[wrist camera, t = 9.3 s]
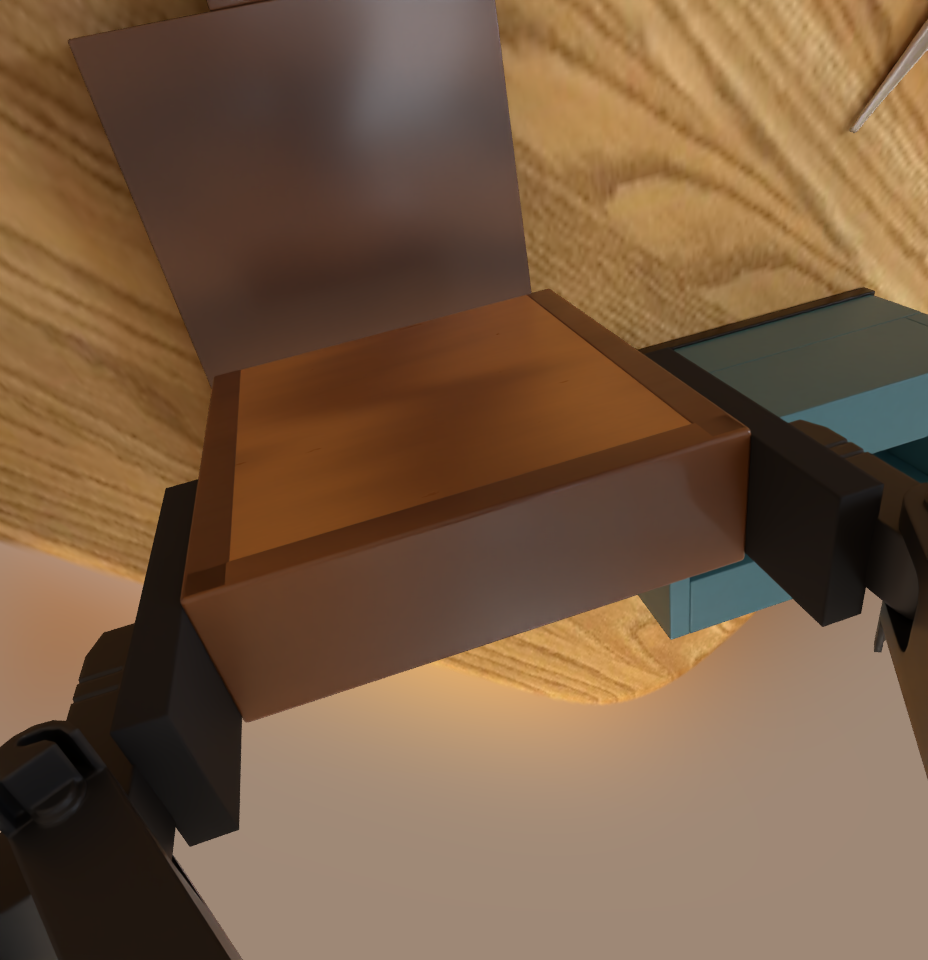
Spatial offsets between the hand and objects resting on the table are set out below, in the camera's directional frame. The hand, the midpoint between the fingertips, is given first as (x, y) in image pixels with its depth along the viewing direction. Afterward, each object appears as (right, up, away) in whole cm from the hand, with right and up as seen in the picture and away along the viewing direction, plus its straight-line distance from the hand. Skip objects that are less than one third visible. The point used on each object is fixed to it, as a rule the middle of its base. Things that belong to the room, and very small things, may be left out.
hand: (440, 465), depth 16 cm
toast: (-1, +3, +5) cm, 6 cm away
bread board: (-4, +10, +12) cm, 16 cm away
